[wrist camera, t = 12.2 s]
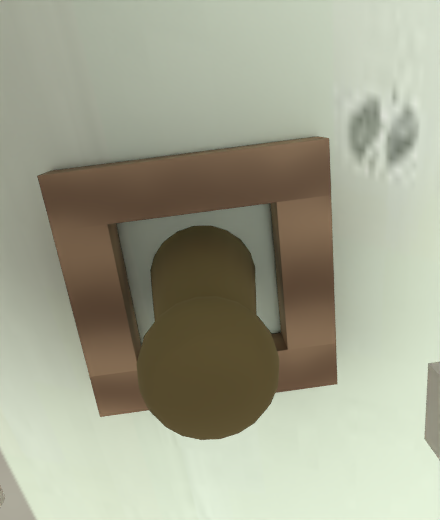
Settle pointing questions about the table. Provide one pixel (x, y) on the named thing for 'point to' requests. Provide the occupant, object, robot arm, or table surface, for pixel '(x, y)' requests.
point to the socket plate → (185, 202)
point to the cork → (206, 338)
